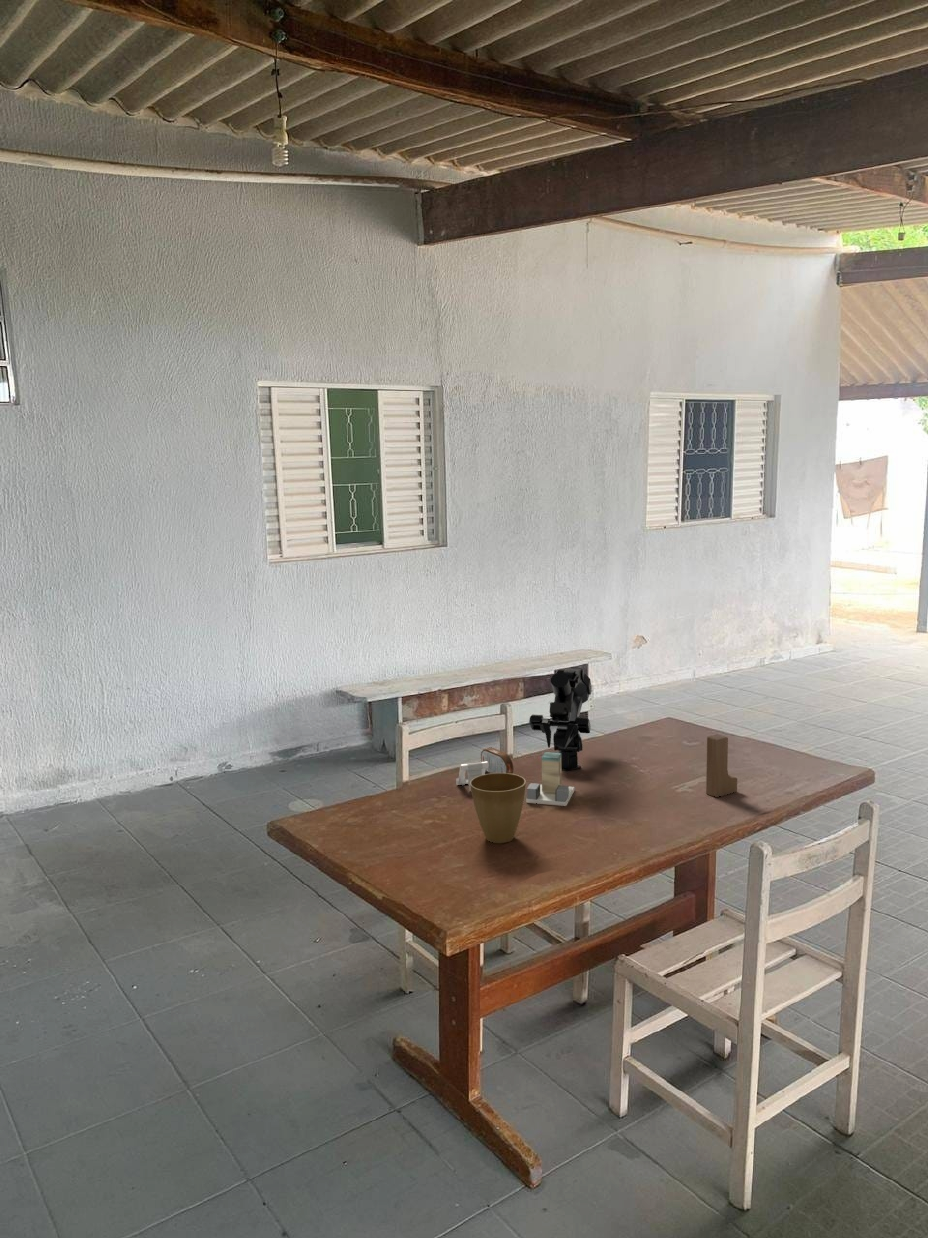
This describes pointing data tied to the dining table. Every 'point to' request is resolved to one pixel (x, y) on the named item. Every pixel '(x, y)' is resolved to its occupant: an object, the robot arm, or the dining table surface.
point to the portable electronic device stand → (471, 772)
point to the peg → (551, 771)
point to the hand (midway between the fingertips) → (556, 747)
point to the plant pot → (498, 804)
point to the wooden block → (718, 767)
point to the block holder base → (549, 795)
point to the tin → (497, 761)
